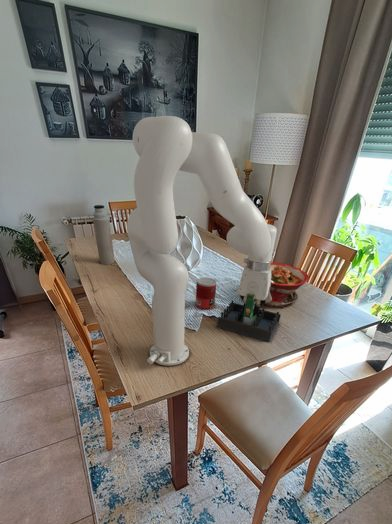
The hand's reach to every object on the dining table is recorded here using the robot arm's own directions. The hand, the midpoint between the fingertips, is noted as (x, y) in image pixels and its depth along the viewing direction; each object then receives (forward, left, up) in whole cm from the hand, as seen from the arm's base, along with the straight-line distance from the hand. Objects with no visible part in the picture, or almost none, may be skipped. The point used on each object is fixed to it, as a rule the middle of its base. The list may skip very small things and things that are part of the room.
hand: (250, 312), depth 106 cm
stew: (+27, -2, -6) cm, 28 cm away
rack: (0, 0, -6) cm, 6 cm away
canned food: (+6, +21, -6) cm, 23 cm away
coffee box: (0, 0, -4) cm, 4 cm away
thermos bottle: (+25, +89, -6) cm, 93 cm away
